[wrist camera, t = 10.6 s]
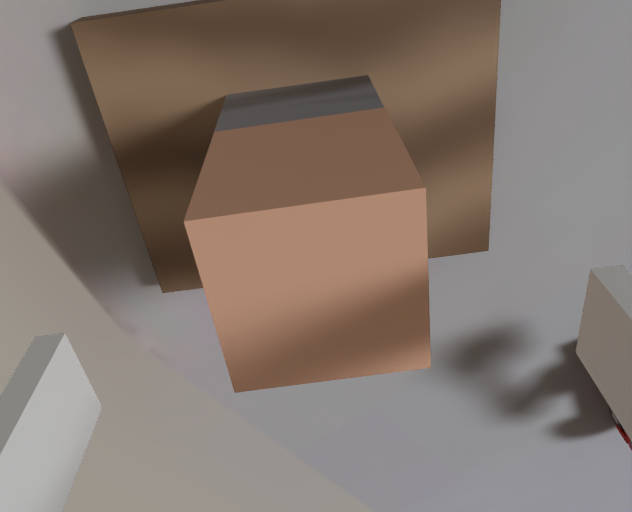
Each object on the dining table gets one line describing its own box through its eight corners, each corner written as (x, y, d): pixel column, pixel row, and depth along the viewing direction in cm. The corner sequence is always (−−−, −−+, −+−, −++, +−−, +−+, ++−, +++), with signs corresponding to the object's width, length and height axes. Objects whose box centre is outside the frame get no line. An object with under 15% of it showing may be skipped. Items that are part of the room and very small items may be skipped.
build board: (81, 17, 24) (19, 48, 18) (491, -43, 23) (553, -30, 18) (167, 277, 31) (142, 354, 26) (480, 236, 31) (521, 306, 25)
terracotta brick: (214, 131, 20) (183, 221, 14) (385, 107, 20) (425, 187, 14) (248, 273, 24) (234, 392, 18) (394, 253, 23) (430, 367, 18)
